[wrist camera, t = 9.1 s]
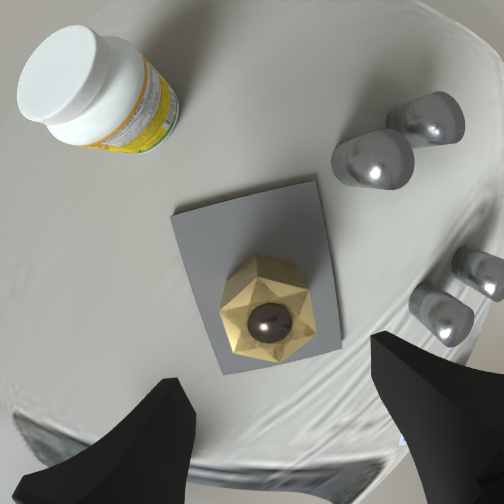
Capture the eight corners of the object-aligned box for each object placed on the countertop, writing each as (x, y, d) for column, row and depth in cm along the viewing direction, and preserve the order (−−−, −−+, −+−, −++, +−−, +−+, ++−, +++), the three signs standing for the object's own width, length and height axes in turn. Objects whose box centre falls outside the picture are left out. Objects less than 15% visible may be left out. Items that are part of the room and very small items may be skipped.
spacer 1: (377, 182, 17) (418, 184, 12) (336, 190, 17) (368, 195, 12) (368, 137, 16) (406, 126, 11) (326, 144, 16) (355, 131, 11)
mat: (340, 344, 20) (342, 348, 19) (223, 370, 20) (223, 375, 19) (313, 180, 17) (315, 180, 16) (172, 215, 17) (169, 216, 17)
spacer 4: (474, 274, 18) (511, 294, 14) (451, 284, 19) (489, 307, 14) (475, 241, 18) (515, 256, 13) (451, 249, 18) (492, 268, 13)
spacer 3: (436, 309, 19) (471, 337, 14) (408, 321, 19) (440, 353, 14) (438, 277, 18) (476, 301, 14) (408, 287, 19) (445, 316, 14)
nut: (305, 316, 18) (320, 354, 14) (241, 331, 18) (240, 372, 14) (290, 244, 17) (304, 265, 13) (220, 261, 17) (211, 288, 13)
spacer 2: (424, 147, 16) (469, 142, 11) (392, 151, 16) (434, 145, 11) (415, 107, 15) (457, 92, 10) (381, 108, 15) (420, 90, 11)
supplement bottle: (196, 119, 16) (141, 58, 6) (131, 172, 16) (31, 172, 7) (153, 64, 15) (85, -9, 5) (93, 115, 15) (-4, 86, 6)
